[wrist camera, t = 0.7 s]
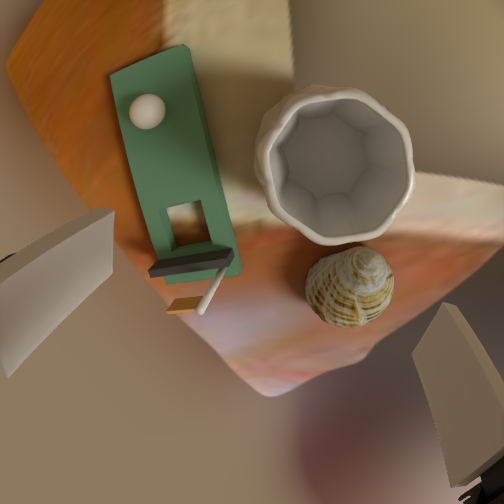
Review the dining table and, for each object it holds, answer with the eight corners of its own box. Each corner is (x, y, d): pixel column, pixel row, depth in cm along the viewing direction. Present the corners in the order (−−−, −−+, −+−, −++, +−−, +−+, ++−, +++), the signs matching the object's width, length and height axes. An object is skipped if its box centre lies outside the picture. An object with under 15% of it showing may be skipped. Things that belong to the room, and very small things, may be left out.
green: (118, 77, 31) (55, 66, 20) (189, 48, 29) (141, 17, 18) (172, 277, 41) (131, 328, 30) (242, 268, 38) (219, 323, 27)
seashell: (296, 313, 39) (300, 323, 29) (313, 241, 40) (323, 228, 30) (368, 329, 38) (394, 343, 28) (384, 258, 39) (414, 251, 29)
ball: (137, 102, 30) (119, 100, 27) (167, 90, 29) (151, 86, 26) (144, 133, 32) (126, 134, 28) (174, 122, 31) (159, 122, 27)
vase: (236, 170, 34) (191, 198, 20) (303, 68, 28) (306, 21, 15) (336, 237, 35) (357, 306, 21) (406, 142, 30) (474, 154, 16)
